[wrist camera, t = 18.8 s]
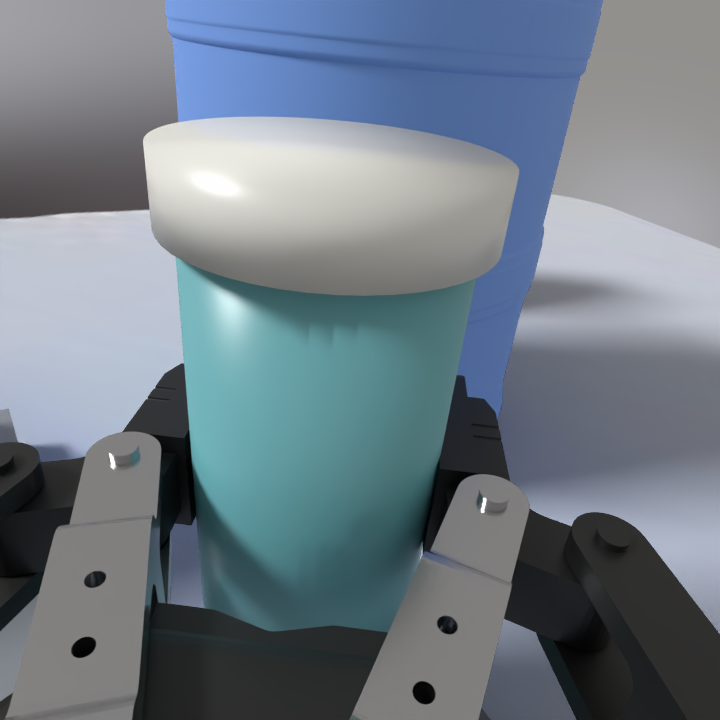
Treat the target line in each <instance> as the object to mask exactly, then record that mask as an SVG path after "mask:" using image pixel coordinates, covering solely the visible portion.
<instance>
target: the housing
mask: <svg viewBox="0 0 720 720" xmlns="http://www.w3.org/2000/svg"><path fill="white" fill-rule="evenodd" d="M6 442H18V441H17V438H16V434H15V430H14V427H13V423H12V420H11V416H10V412H9V409H5V410H1V411H0V443H6ZM38 595H39V594H38ZM38 595H37V596H36V597H35V598H34V599H33V600H32V601H31V602H30V603H29V604H28V605H27V606H26V607H25V608H24V609H23V610H22V611H21V612H20V613H19V614H18V615H17V616H16V617H15V618H14V619H12V620H11V621H10V622H9V623H8V624H7V625H6V626H5V627H4V628H3V629H2V630H1V631H0V701H1V700H3V699H4V698H6V697H7V696H9V695H10V694H12V693H13V691H14V687H15V684H16V680H17V676H18V672H19V668H20V664H21V660H22V657H23V653H24V649H25V645H26V641H27V637H28V633H29V630H30V626H31V622H32V618H33V614H34V610H35V606H36V603H37V599H38Z"/></svg>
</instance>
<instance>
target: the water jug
mask: <svg viewBox="0 0 720 720" xmlns="http://www.w3.org/2000/svg"><path fill="white" fill-rule="evenodd" d="M602 3H603V0H165V10H166V17H167V23H168V31H169V33H170V35H171V36H172V42H173V47H174V48H173V49H174V63H175V75H176V76H175V77H176V90H177V91H176V92H177V106H178V120H179V122H184V121H190V120H199V119H209V118H223V117H296V118H314V119H328V120H340V121H350V122H360V123H368V124H376V125H384V126H391V127H397V128H404V129H410V130H415V131H421V132H426V133H431V134H436V135H441V136H445V137H449V138H454V139H457V140H461V141H465V142H469V143H472V144H475V145H478V146H481V147H484V148H487V149H490V150H492V151H495V152H497V153H499V154H501V155H503V156H505V157H507V158H508V159H510V160H512V161H513V162H514V163H515V164H516V165H517V167H518V168H519V177H518V181H517V186H516V191H515V195H514V200H513V204H512V209H511V213H510V218H509V222H508V227H507V232H506V236H505V241H504V245H503V250H502V254H501V258H500V259H499V261H498V263H497V264H496V265H495V266H494V267H493V268H492V269H491V270H490V271H489V272H487V273H485V274H483V275H481V276H480V277H478V278H476V281H475V286H474V291H473V296H472V301H471V306H470V311H469V316H468V321H467V326H466V331H465V336H464V341H463V346H462V351H461V356H460V361H459V366H458V371H457V375H462V376H464V377H465V382H466V389H467V396H468V397H474V398H482V399H485V400H486V401H487V403H488V404H489V405H490V406H491V407H492V409H493V410H494V411H495V412H496V417H497V420H498V416H499V414H500V410H501V407H502V398H503V386H502V383H503V380H504V376H505V372H506V368H507V364H508V360H509V356H510V352H511V348H512V344H513V340H514V336H515V332H516V328H517V324H518V320H519V316H520V312H521V308H522V304H523V301H524V298H525V295H526V294H527V292H528V290H529V288H530V286H531V282H532V280H533V277H534V274H535V270H536V266H537V262H538V258H539V255H540V251H541V247H542V239H543V235H544V227H543V223H544V219H545V216H546V212H547V208H548V204H549V200H550V196H551V192H552V188H553V184H554V180H555V176H556V172H557V167H558V164H559V160H560V156H561V152H562V148H563V144H564V139H565V136H566V132H567V128H568V124H569V120H570V116H571V112H572V108H573V104H574V100H575V96H576V92H577V88H578V84H579V80H580V76H581V75H582V74H584V72H585V70H586V66H587V62H588V59H589V58H590V54H591V51H592V47H593V43H594V39H595V35H596V31H597V27H598V23H599V19H600V15H601V7H602Z"/></svg>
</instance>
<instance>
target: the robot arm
mask: <svg viewBox="0 0 720 720" xmlns="http://www.w3.org/2000/svg"><path fill="white" fill-rule="evenodd" d="M498 427H499V426H498V421H497V417H496V412H495V411H494V410H493V409H492V407H491V406H490V405H489V404H488V403H487V401H486V400H485V399H482V398H474V397H468V396H467V389H466V382H465V377H464V376H462V375H457V376H456V381H455V386H454V391H453V396H452V401H451V406H450V411H449V415H448V420H447V425H446V430H445V435H444V440H443V445H442V450H441V455H440V457H439V462H438V467H437V473H436V478H435V483H434V488H433V493H432V498H431V503H430V508H429V513H428V518H427V523H426V528H425V533H424V538H423V556H422V558H421V560H420V562H419V564H418V567H417V569H416V571H415V573H414V576H413V578H412V580H411V582H410V585H409V587H408V589H407V591H406V594H405V596H404V598H403V600H402V603H401V605H400V607H399V609H398V612H397V614H396V616H395V618H394V621H393V623H392V625H391V627H390V630H389V632H381V631H374V630H366V629H358V628H351V627H343V626H335V625H332V626H323V627H313V628H304V629H295V630H285V631H267V630H264V629H262V628H259V627H257V626H254V625H252V624H249V623H247V622H244V621H242V620H239V619H237V618H234V617H232V616H229V615H227V614H224V613H222V612H219V611H217V610H213V609H205V608H198V607H190V606H182V605H175V604H170V596H171V567H172V540H171V530H172V528H173V526H174V524H175V523H176V524H184V525H192V523H193V521H194V519H195V517H196V506H195V493H194V480H193V468H192V455H191V443H190V430H189V417H188V405H187V392H186V380H185V367H184V364H182V363H181V364H180V365H178V366H176V367H175V368H173V369H172V370H170V371H168V372H167V373H165V374H164V375H163V377H162V378H161V380H160V381H159V382H158V384H157V385H156V388H155V389H153V391H152V392H151V393H150V395H149V396H148V400H147V399H146V400H145V402H144V403H143V404H142V406H141V407H140V408H139V410H138V411H137V413H136V414H135V415H134V417H133V418H132V419H131V421H130V422H129V424H128V425H127V426H126V428H125V429H124V430H123V432H121V433H116V434H113V435H110V436H107V437H105V438H103V439H101V440H99V441H98V442H96V443H95V444H94V445H93V446H92V447H91V448H90V449H89V450H88V452H87V454H86V456H85V457H82V458H78V459H70V460H60V461H50V462H41V461H40V457H39V454H38V452H37V450H36V449H35V448H34V447H32V446H30V445H28V444H24V443H19V442H6V443H0V631H1V630H2V629H3V628H4V627H5V626H6V625H7V624H8V623H9V622H10V621H11V620H12V619H14V618H15V617H16V616H17V615H18V614H19V613H20V612H21V611H22V610H23V609H24V608H25V607H26V606H27V605H28V604H29V603H30V602H31V601H32V600H33V599H34V598H35V597H36V596H37V595H38V594H39V595H38V599H37V603H36V606H35V610H34V614H33V618H32V622H31V626H30V630H29V633H28V637H27V641H26V645H25V649H24V653H23V657H22V660H21V664H20V668H19V672H18V676H17V680H16V684H15V687H14V691H13V693H12V694H10V695H9V696H7V697H6V698H4V699H3V700H1V701H0V720H478V719H479V715H480V711H481V707H482V703H483V699H484V695H485V691H486V688H487V684H488V680H489V676H490V672H491V668H492V664H493V660H494V656H495V652H496V648H497V644H498V640H499V636H500V632H501V628H502V624H503V620H504V619H506V620H509V621H511V622H513V623H516V624H518V625H520V626H523V627H525V628H527V629H530V630H532V631H534V632H536V633H537V636H538V639H539V641H540V643H541V646H542V648H543V650H544V652H545V654H546V656H547V658H548V660H549V662H550V665H551V667H552V669H553V671H554V673H555V675H556V677H557V679H558V681H559V683H560V686H561V688H562V690H563V692H564V694H565V696H566V698H567V700H568V702H569V705H570V707H571V709H572V711H573V713H574V715H575V717H576V719H577V720H720V634H719V633H718V631H717V630H716V629H715V628H714V626H713V625H712V624H711V622H710V621H709V620H708V618H707V617H706V616H705V615H704V613H703V612H702V611H701V609H700V608H699V607H698V605H697V604H696V603H695V602H694V600H693V599H692V598H691V596H690V595H689V594H688V592H687V591H686V590H685V589H684V587H683V586H682V585H681V583H680V582H679V581H678V579H677V578H676V577H675V576H674V574H673V573H672V572H671V570H670V569H669V568H668V566H667V565H666V564H665V563H664V561H663V560H662V559H661V557H660V556H659V555H658V553H657V552H656V551H655V550H654V548H653V547H652V546H651V544H650V543H649V542H648V540H647V539H646V538H645V537H644V536H643V534H642V533H641V532H640V531H639V530H637V529H636V528H635V527H634V526H632V525H631V524H629V523H628V522H626V521H624V520H622V519H620V518H618V517H615V516H612V515H609V514H605V513H598V512H591V513H586V514H583V515H580V516H579V517H577V518H576V519H575V520H574V522H573V524H572V527H571V526H569V525H566V524H563V523H560V522H558V521H555V520H552V519H549V518H547V517H544V516H542V515H540V514H538V513H536V512H534V511H532V510H531V509H529V508H530V507H529V502H528V499H527V497H526V495H525V494H524V493H523V492H522V490H521V489H520V488H518V487H517V486H516V485H515V484H513V483H512V482H510V479H509V474H508V470H507V465H506V460H505V455H504V450H503V445H502V442H501V436H500V431H499V430H498Z"/></svg>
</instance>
